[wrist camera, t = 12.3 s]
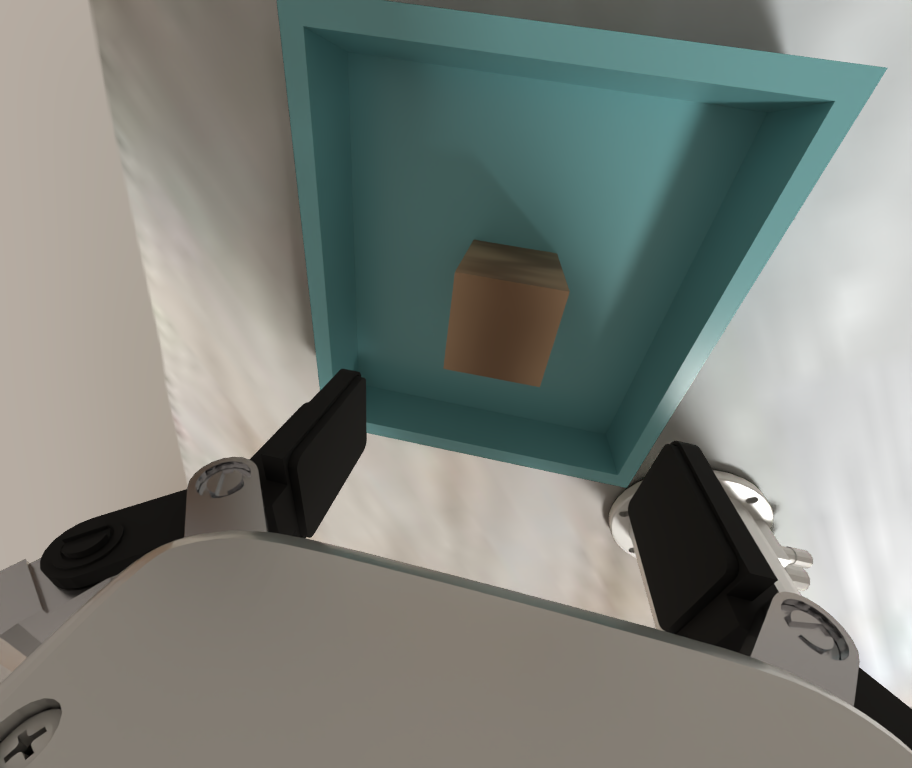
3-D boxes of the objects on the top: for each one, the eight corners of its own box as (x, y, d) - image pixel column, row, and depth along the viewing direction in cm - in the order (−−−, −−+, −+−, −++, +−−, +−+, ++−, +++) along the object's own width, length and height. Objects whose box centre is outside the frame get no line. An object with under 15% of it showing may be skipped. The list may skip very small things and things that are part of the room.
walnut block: (556, 253, 21) (569, 291, 15) (535, 329, 23) (539, 387, 18) (473, 239, 21) (454, 272, 15) (462, 316, 24) (443, 368, 18)
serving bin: (793, 89, 16) (887, 68, 12) (611, 439, 28) (626, 487, 24) (334, 25, 17) (274, -15, 13) (351, 386, 30) (323, 423, 26)
